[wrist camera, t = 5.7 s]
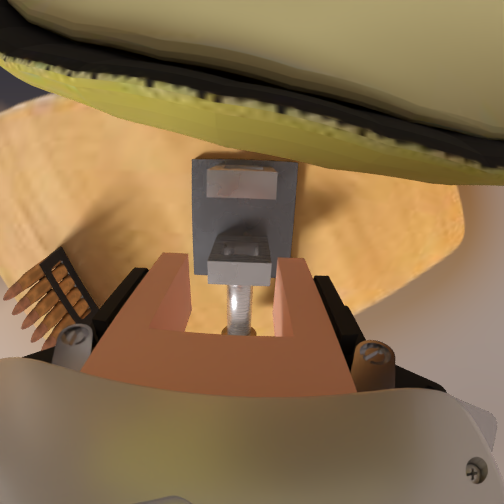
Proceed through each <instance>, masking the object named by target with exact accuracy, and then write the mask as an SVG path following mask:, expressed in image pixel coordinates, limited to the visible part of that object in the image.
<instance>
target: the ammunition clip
mask: <svg viewBox="0 0 504 504" xmlns="http://www.w3.org/2000/svg"><path fill="white" fill-rule="evenodd" d="M55 267H56V268H55ZM54 268H55V269H54ZM52 269H54V270H52ZM45 275H46V276H45ZM62 279H63V280H62ZM38 280H39V282H38V283H36V282H37V281H38ZM61 280H62V281H61ZM59 281H61V282H60V283H58V282H59ZM34 283H36V284H35V285H34V286H33V287H32V288H31V289H30V290H29V291H28V293H27V294H26V295H25V296H24V297H23V298H22V299H21V300H20V301H19V302H18V303H17V305H16V306H15V308H14V310H13V312H12V315H17V314H19V313H21V312H23V311H24V310H25V309H27V308H28V307H29V306H30V305H32V304H33V303H34V302H36V301H38V300H39V299H40V298H41V297H42V296H43V295H45V294H46V293H47V294H46V295H45V296H44V297H43V298H42V299H41V300H40V301H39V302H38V303H37V305H36V307H35V308H34V309H33V310H32V311H31V312H30V313H29V314H28V316H27V317H26V319H25V320H24V322H23V324H22V327H21V329H26V328H28V327H30V326H31V325H33V324H34V323H35V322H36V321H37V320H38V319H39V318H40V317H42V316H43V315H45V314H46V313H47V312H48V311H49V310H50V309H51V308H52V307H53V306H54V307H53V308H52V309H51V311H50V312H49V313H48V314H47V315H46V316H45V318H44V320H43V321H42V322H41V323H40V325H39V326H38V327H37V328H36V330H35V331H34V333H33V335H32V338H31V342H32V343H33V342H36V341H37V340H39V339H40V338H42V337H43V336H44V335H45V334H46V333H47V332H48V331H49V330H50V329H51V328H52V327H54V326H55V325H56V324H57V323H58V322H59V323H58V324H57V325H56V326H55V327H54V329H53V331H52V333H51V334H50V335H49V337H48V338H47V340H46V341H45V343H44V344H43V347H42V350H45V349H48V348H51V347H54V346H55V345H56V341H57V337H58V335H59V333H60V332H61V331H62V330H63V329H64V328H66V327H67V326H70V325H73V324H85V325H88V326H89V325H90V324H91V323H92V318H93V317H94V316H95V314H96V313H97V312H98V311H99V309H98V307H97V306H96V304H95V303H94V301H93V300H92V298H91V296H90V295H89V293H88V292H87V290H86V288H85V287H84V285H83V284H82V282H81V280H80V279H79V277H78V275H77V273H76V272H75V270H74V268H73V267H72V265H71V263H70V261H69V259H68V258H67V256H66V254H65V252H64V250H63V248H62V247H60V248H58V249H57V250H55V251H54V252H53V253H51V254H50V255H49V256H48V257H46V258H45V259H44V260H42V261H41V262H39V263H38V264H37V265H35V266H34V267H33V268H31V269H30V270H29V271H27V272H26V273H25V274H23V275H22V277H21V278H20V279H19V280H18V281H17V282H16V283H15V284H14V285H12V286H11V287H10V288H9V290H8V291H7V292H6V294H5V295H4V298H3V300H9V299H12V298H14V297H15V296H17V295H18V294H19V293H21V292H22V291H24V290H25V289H27V288H29V287H31V286H32V285H33V284H34ZM51 288H53V289H51ZM59 300H60V301H59ZM75 303H76V304H75ZM74 304H75V305H74ZM73 305H74V306H73ZM61 318H62V319H61ZM42 350H41V351H42Z"/></svg>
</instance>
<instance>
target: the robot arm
mask: <svg viewBox="0 0 504 504" xmlns="http://www.w3.org/2000/svg"><path fill="white" fill-rule="evenodd" d="M148 271H149V270H148V269H147V268H134V269H133V270H132V271H131V272H130V273H129V275H128V276H127V277H126V278H125V279H124V280H123V282H122V283H121V284H120V285H119V286H118V287H117V289H116V290H115V291H114V292H113V293H112V295H111V296H110V297H109V298H108V299H107V301H106V302H105V303H104V304H103V306H102V307H101V308H100V309H99V311H98V312H97V313H96V314H95V316H94V317H93V318H92V323H91V324H90V325H89V326H88V325H85V324H73V325H70V326H67V327H66V328H64V329H63V330H62V331H61V332H60V333H59V335H58V337H57V341H56V345H55V346H54V347H51V348H48V349H45V350H42V351H39V352H36V353H34V354H30V355H27V356H24V357H22V358H20V357H9V358H2V359H0V504H504V481H503V478H502V476H501V473H500V471H499V468H498V466H497V463H496V461H495V459H494V457H493V454H492V450H493V445H494V441H495V436H496V431H497V421H496V418H495V417H494V416H493V415H492V414H491V413H489V412H488V411H485V410H483V409H481V408H478V407H476V406H473V405H471V404H469V403H466V402H464V401H462V400H459V399H457V398H455V397H453V396H451V395H450V394H448V393H447V392H446V390H445V389H444V388H443V387H442V386H441V385H439V384H437V383H435V382H433V381H430V380H428V379H426V378H424V377H422V376H419V375H417V374H415V373H413V372H410V371H408V370H406V369H404V368H401V367H399V366H397V365H395V354H394V352H393V350H392V349H391V348H390V347H389V346H388V345H386V344H384V343H383V342H380V341H376V340H366V339H365V337H364V336H363V334H362V332H361V330H360V328H359V326H358V324H357V322H356V320H355V318H354V316H353V314H352V313H351V311H350V309H349V307H348V306H344V304H343V302H342V300H341V298H340V297H339V295H338V293H337V291H336V289H335V287H334V285H333V283H332V282H331V280H330V278H329V276H314V279H313V280H314V282H315V285H316V287H317V290H318V292H319V294H320V297H321V299H322V302H323V304H324V307H325V309H326V311H327V314H328V316H329V319H330V321H331V324H332V326H333V329H334V332H335V334H336V337H337V339H338V342H339V344H340V347H341V350H342V352H343V355H344V358H345V360H346V363H347V366H348V368H349V371H350V374H351V376H352V379H353V382H354V385H355V387H356V390H357V392H356V393H347V394H336V395H321V396H302V397H246V396H225V395H212V394H200V393H191V392H182V391H174V390H167V389H160V388H154V387H147V386H142V385H136V384H131V383H126V382H121V381H116V380H111V379H107V378H103V377H99V376H95V375H91V374H87V373H83V372H80V370H81V369H82V367H83V365H84V364H85V362H86V361H87V359H88V358H89V356H90V354H91V353H92V351H93V350H94V348H95V347H96V345H97V344H98V342H99V341H100V339H101V338H102V336H103V335H104V333H105V332H106V330H107V329H108V327H109V326H110V324H111V323H112V321H113V320H114V318H115V317H116V316H117V314H118V313H119V311H120V310H121V308H122V307H123V306H124V304H125V303H126V301H127V300H128V299H129V297H130V296H131V294H132V293H133V292H134V290H135V289H136V288H137V286H138V285H139V284H140V282H141V281H142V279H143V278H144V277H145V275H146V274H147V273H148Z"/></svg>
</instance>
